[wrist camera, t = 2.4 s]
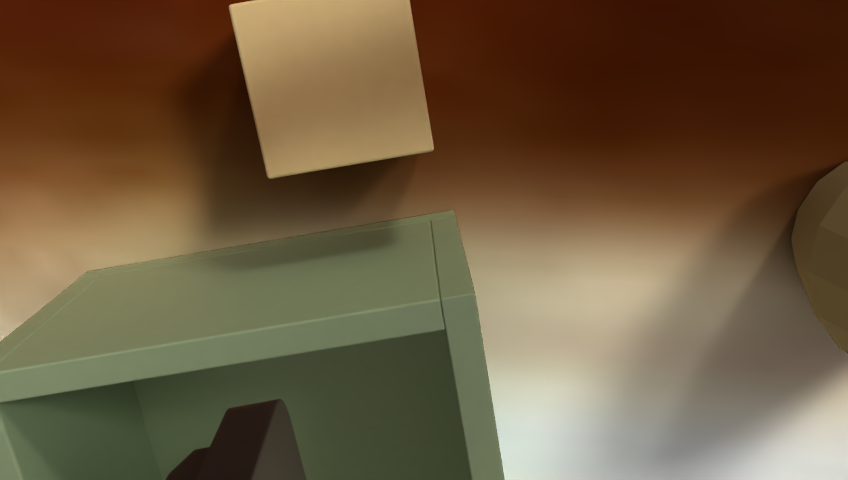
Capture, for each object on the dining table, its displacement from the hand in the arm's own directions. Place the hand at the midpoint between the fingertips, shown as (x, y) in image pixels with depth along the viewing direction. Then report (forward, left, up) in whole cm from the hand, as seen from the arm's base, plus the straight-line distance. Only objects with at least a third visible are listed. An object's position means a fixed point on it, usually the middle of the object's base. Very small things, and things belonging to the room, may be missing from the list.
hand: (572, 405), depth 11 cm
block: (-4, -4, -18) cm, 19 cm away
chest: (+10, -8, -18) cm, 22 cm away
